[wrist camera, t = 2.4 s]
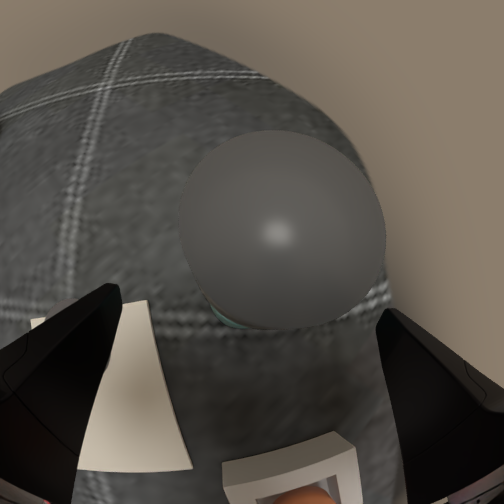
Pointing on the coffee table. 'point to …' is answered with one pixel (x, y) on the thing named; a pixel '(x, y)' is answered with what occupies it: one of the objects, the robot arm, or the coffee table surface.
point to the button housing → (296, 472)
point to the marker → (280, 231)
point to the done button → (305, 496)
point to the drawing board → (131, 403)
